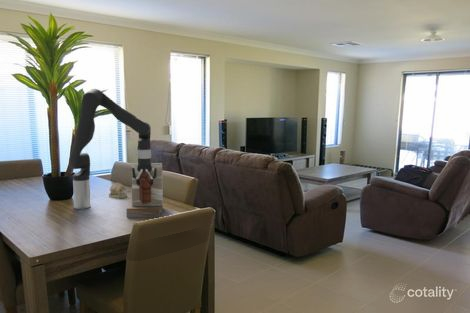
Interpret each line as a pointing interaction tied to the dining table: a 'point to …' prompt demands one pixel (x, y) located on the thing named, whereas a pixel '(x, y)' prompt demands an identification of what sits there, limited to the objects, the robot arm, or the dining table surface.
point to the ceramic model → (117, 191)
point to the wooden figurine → (145, 188)
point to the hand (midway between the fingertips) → (144, 185)
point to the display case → (156, 195)
